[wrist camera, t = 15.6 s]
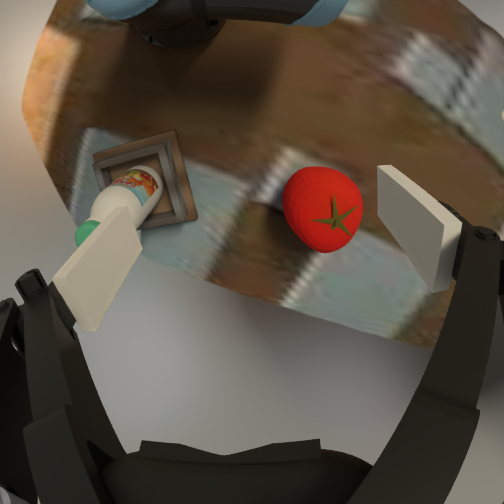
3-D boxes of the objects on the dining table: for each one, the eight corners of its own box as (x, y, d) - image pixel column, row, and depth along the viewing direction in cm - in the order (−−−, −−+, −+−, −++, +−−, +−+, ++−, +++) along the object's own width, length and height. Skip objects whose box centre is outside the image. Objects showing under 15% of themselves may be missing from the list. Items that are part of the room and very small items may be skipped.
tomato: (285, 235, 55) (290, 271, 45) (277, 161, 48) (281, 183, 38) (351, 228, 54) (369, 262, 44) (350, 155, 47) (373, 175, 37)
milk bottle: (171, 196, 50) (129, 259, 33) (136, 212, 52) (85, 276, 35) (152, 156, 47) (95, 202, 30) (116, 175, 48) (53, 227, 31)
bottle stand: (95, 153, 47) (84, 159, 44) (175, 129, 45) (169, 133, 42) (121, 231, 55) (113, 241, 52) (198, 216, 53) (194, 227, 50)
